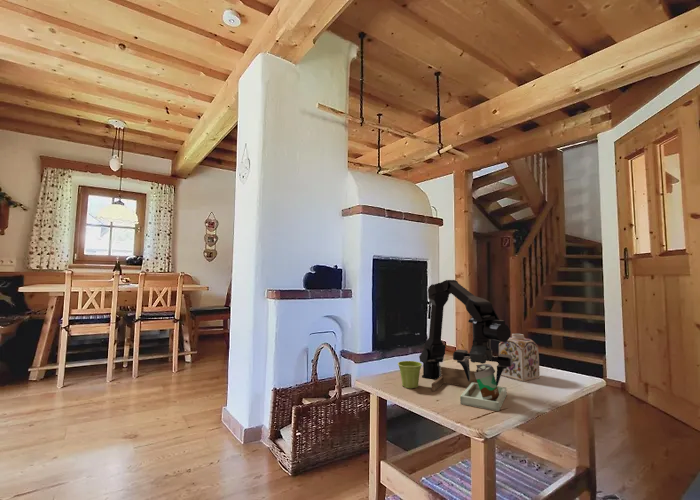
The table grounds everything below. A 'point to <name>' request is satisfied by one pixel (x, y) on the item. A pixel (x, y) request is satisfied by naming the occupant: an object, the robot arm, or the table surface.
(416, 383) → the plant pot
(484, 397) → the food container
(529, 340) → the decorative jar
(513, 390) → the table surface
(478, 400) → the tray
